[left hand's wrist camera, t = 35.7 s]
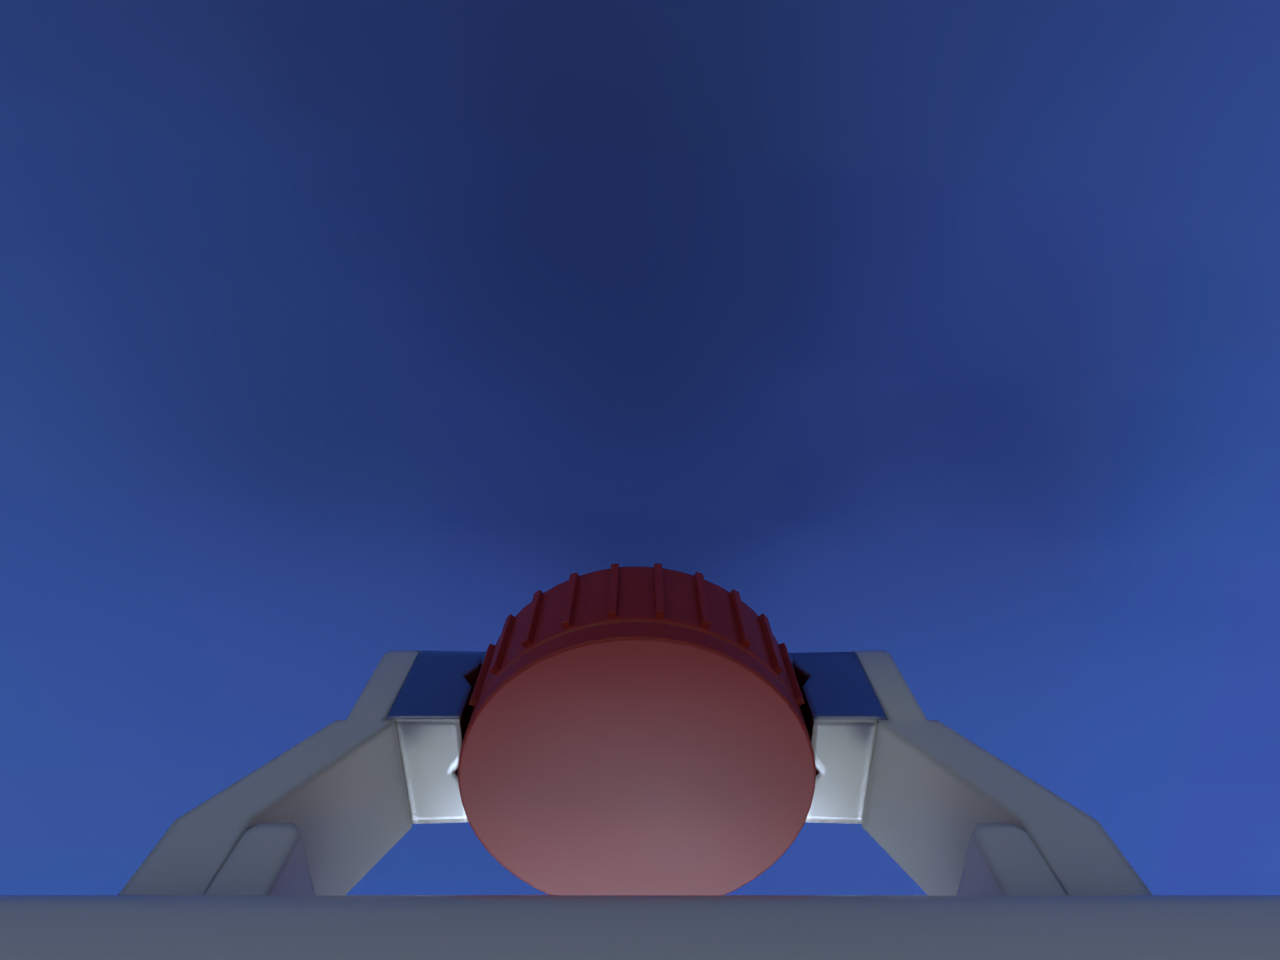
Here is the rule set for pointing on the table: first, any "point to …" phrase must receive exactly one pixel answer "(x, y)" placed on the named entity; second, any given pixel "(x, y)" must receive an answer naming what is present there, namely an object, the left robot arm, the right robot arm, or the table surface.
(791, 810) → the lid
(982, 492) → the table surface
